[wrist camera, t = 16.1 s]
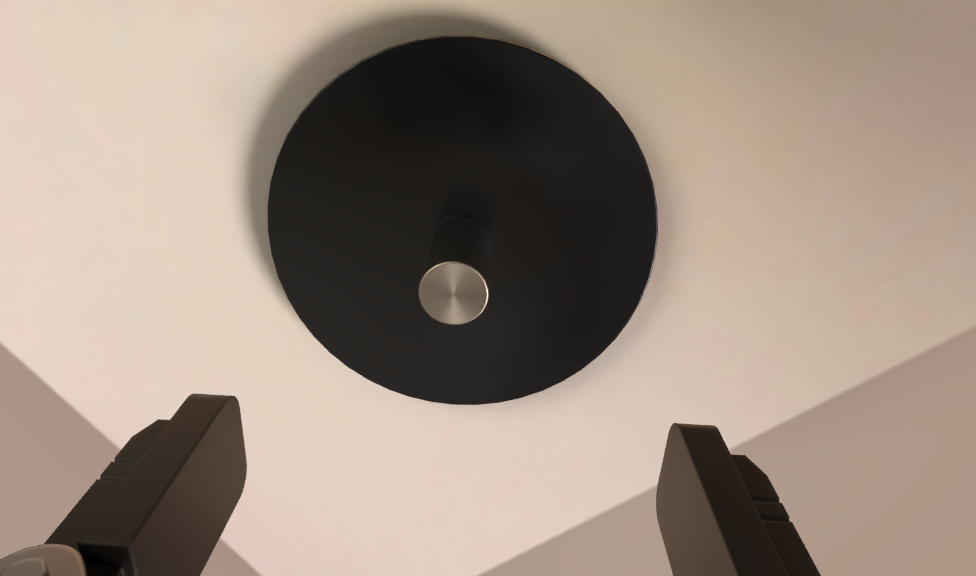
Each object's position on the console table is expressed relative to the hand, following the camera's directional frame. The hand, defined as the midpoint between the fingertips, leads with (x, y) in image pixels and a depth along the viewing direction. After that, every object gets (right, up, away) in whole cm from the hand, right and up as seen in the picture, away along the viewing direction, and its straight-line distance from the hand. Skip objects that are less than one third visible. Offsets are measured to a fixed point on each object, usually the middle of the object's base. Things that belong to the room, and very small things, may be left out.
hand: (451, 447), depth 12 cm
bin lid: (0, +5, +15) cm, 16 cm away
